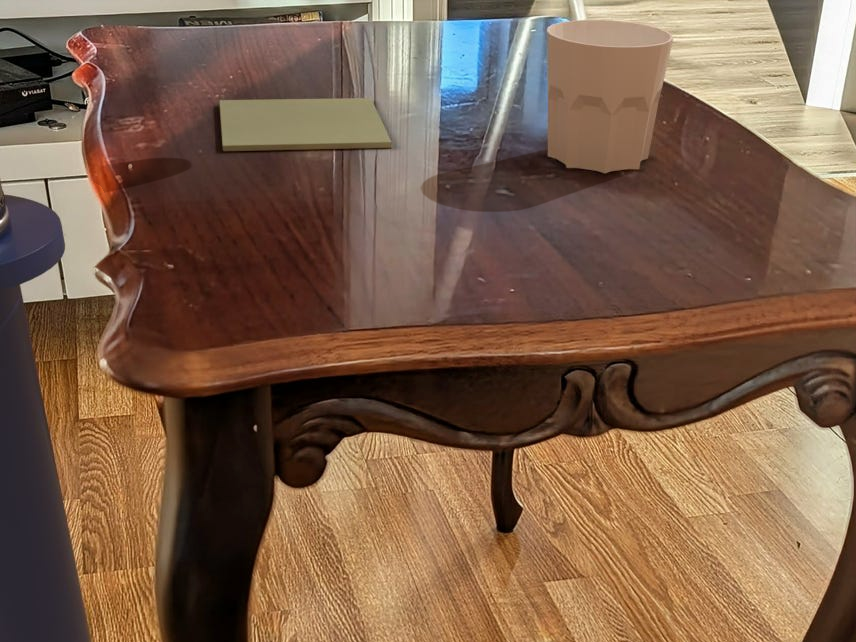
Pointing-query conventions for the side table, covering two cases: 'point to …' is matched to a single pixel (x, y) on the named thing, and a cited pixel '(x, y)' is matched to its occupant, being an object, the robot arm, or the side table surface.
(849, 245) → the side table surface
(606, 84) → the cup
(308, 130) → the mat
